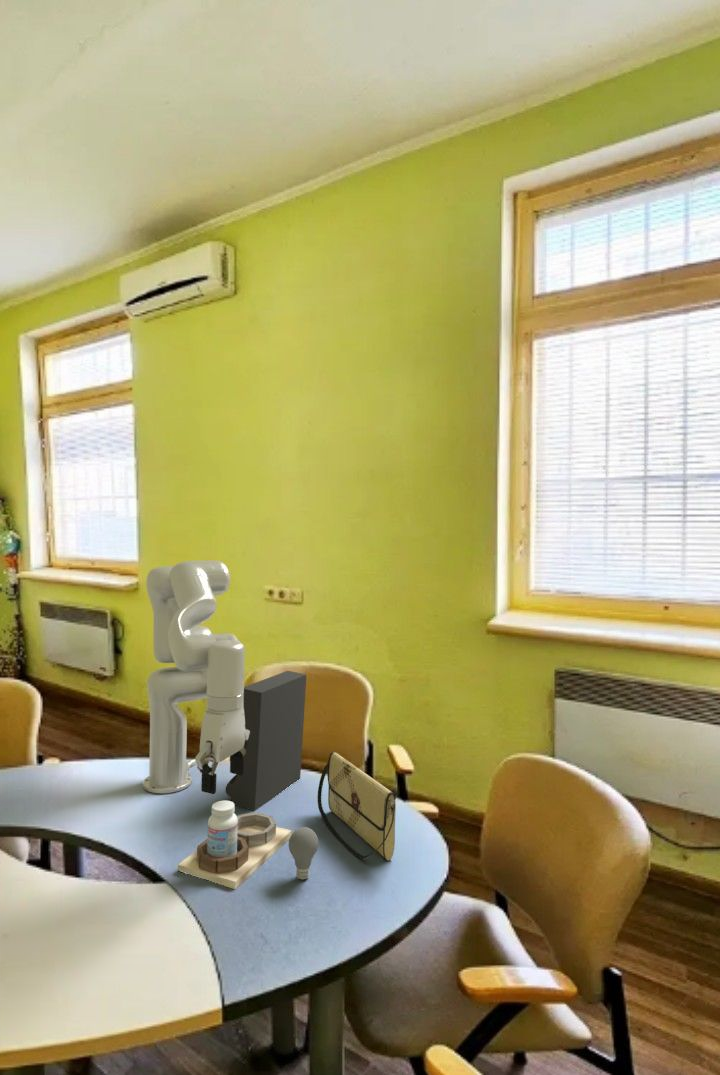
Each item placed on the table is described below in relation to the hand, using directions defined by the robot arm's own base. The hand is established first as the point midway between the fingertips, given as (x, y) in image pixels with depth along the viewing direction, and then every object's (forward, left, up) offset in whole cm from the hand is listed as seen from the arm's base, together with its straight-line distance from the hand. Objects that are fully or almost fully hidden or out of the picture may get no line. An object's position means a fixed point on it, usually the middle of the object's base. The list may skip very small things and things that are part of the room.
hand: (223, 782), depth 126 cm
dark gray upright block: (-34, -11, -18) cm, 40 cm away
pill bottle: (0, 0, -16) cm, 16 cm away
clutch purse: (-22, +20, -18) cm, 35 cm away
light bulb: (-3, +17, -18) cm, 25 cm away
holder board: (-5, 0, -17) cm, 18 cm away
